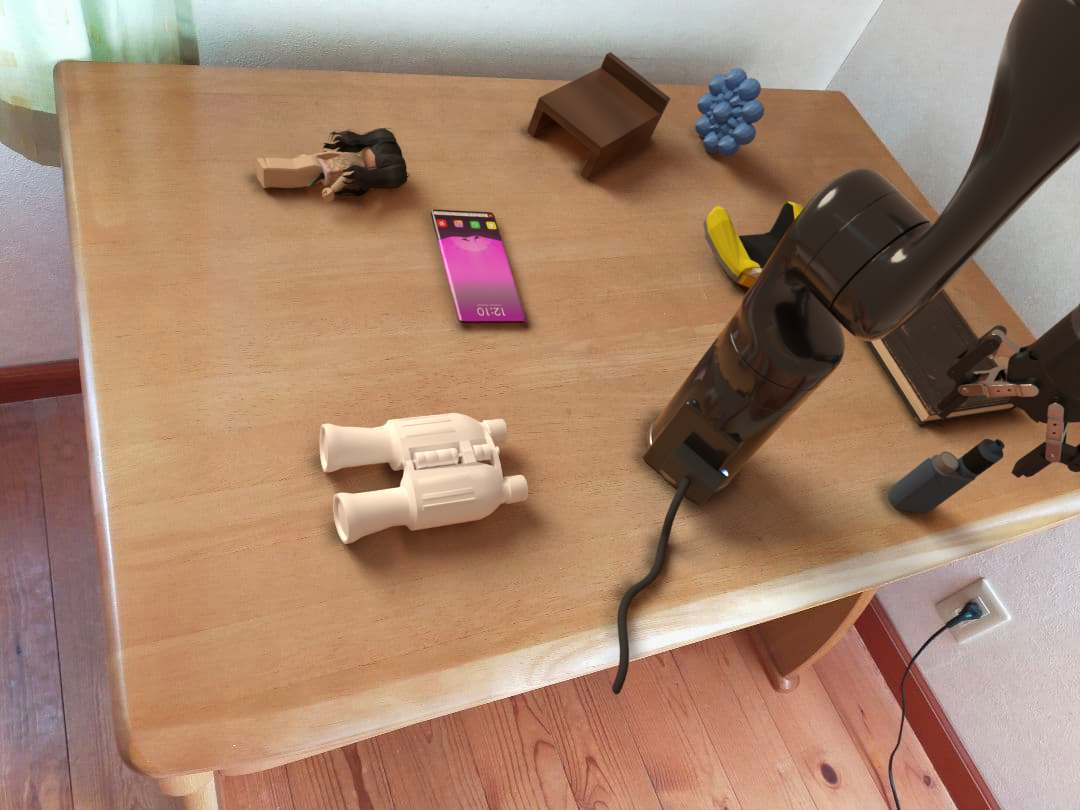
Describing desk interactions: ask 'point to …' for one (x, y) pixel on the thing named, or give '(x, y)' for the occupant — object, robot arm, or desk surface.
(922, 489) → the vaping device
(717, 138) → the grapes
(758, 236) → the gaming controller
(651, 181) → the desk surface
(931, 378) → the hardcover book
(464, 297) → the smartphone
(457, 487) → the binoculars
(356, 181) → the toy figure
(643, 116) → the shelf
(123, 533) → the desk surface
